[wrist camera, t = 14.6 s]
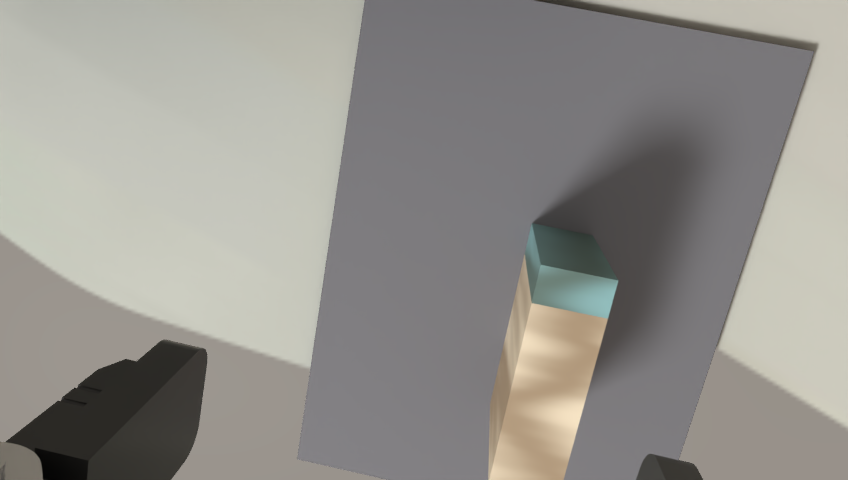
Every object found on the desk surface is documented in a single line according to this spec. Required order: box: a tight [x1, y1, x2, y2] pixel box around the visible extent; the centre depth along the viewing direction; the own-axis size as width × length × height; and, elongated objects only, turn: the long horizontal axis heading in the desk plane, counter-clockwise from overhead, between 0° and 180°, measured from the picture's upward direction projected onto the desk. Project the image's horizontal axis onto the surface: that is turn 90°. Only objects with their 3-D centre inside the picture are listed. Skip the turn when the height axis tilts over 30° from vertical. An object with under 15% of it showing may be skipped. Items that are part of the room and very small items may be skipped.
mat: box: [297, 0, 814, 480], centre depth 33 cm, size 20×26×1 cm
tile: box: [488, 223, 618, 480], centre depth 30 cm, size 3×7×10 cm
